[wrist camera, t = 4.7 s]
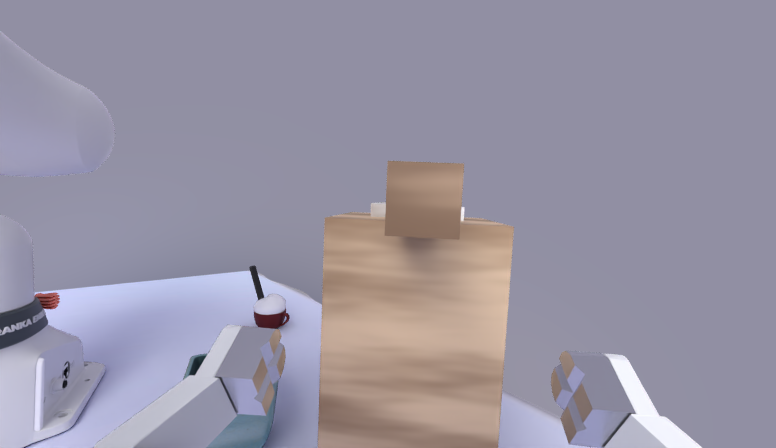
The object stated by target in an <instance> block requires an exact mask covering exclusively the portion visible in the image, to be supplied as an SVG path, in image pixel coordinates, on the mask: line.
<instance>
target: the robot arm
mask: <svg viewBox="0 0 776 448" xmlns="http://www.w3.org/2000/svg"><path fill="white" fill-rule="evenodd" d="M114 141H115V130H114V125H113V121H112V118H111V116H110V114H109V112H108V110H107V109H106V107H105V106H104V104H103V103H102V102H101V100H100V99H99V98H98V97H97V96H96V95H95V94H94V93H93V92H92V91H90V90H89V89H88V88H86V87H84V86H82V85H79V84H78V83H76V82H74V81H71V80H69V79H67V78H66V77H64V76H62V75H60V74H58V73H56V72H55V71H53V70H51V69H50V68H48V67H47V66H45V65H44V64H42V63H41V62H39V61H38V60H36V59H35V58H34V57H32V56H31V55H29V54H28V53H27V52H26V51H24V50H23V49H22V48H20V47H19V46H18V45H17V44H15V43H14V42H13V41H12V40H10V39H9V38H8V37H7V36H6V35H5V34H4V33H2V32H1V31H0V175H7V176H27V177H45V176H58V175H70V174H79V173H88V172H93V171H94V170H96V169H97V168H98V167H99V166H100V165H102V164H103V163H104V162H105V160H106V159H107V158H108V156H109V155H110V153H111V151H112V149H113V145H114ZM33 265H34V264H33V241H32V238H31V236H30V235H29V233H28V232H27V231H26V230H25V229H24V227H22V226H21V225H20V224H18V223H17V222H16V221H14V220H12V219H10V218H8V217H6V216H4V215H1V214H0V448H23V447H25V446H27V445H29V444H32V443H34V442H37V441H40V440H43V439H46V438H48V437H51V436H54V435H57V434H59V433H62V432H64V431H66V430H68V429H70V428H71V427H72V426H73V425H74V424H75V422H76V420H77V419H78V417H79V415H80V414H81V412H82V410H83V408H84V407H85V405H86V403H87V402H88V400H89V398H90V397H91V395H92V393H93V392H94V390H95V388H96V387H97V385H98V383H99V381H100V380H101V378H102V376H103V375H104V373H105V365H104V364H101V363H96V362H84V357H83V346H82V342H81V340H80V339H79V338H78V337H76V336H74V335H71V334H68V333H66V332H64V331H61V330H59V329H56V328H54V327H52V326H50V325H48V320H47V318H46V315H45V314H46V313H45V311H44V309H55V308H56V307H57V306H58V305H57V304H58V303H59V301H58V300H60V298H58V297H59V295H57V294H58V293H48V294H42V293H38V294H36V295H34V267H33ZM280 339H281V334H280V331H279V329H270V328H260V327H249V326H239V325H227V326H226V327H224V328H223V329H222V331H221V332H220V334H219V336H218V338H217V339H216V341H215V343H214V344H213V346H212V348H211V349H210V351H209V353H208V354H207V356H206V358H205V359H204V361H203V363H202V364H201V366H200V368H199V369H198V371H197V373H196V374H195V375H189V376H188V377H187V378H185V379H184V380H183V381H181V382H180V383H178V384H177V385H176V386H174V387H173V388H172V389H170V390H169V391H167V392H166V393H165V394H163V395H162V396H160V397H159V398H158V399H156V400H155V401H154V402H152V403H151V404H149V405H148V406H147V407H145V408H144V409H143V410H141V411H140V412H138V413H137V414H136V415H134V416H133V417H132V418H130V419H129V420H127V421H126V422H125V423H123V424H122V425H121V426H119V427H118V428H116V429H115V430H114V431H112V432H111V433H109V434H108V435H107V436H105V437H104V438H103V439H101V440H100V441H98V442H97V443H96V444H95V446H94V447H93V448H206V447H207V446H208V445H209V444H210V443H211V442H212V441H213V440H214V439H215V438H216V437H217V436H218V435H219V434H220V433H221V432H222V431H223V430H224V429H225V428H226V427H227V426H228V425H229V424H230V423H231V422H232V420H233V419H234V418H235V417H236V416H237V414H246V415H262V416H266V415H267V412H268V410H269V407H270V404H271V402H272V399H273V396H274V394H275V392H274V389H273V384H274V383H275V382H276V381H277V380H279V379H280V377H281V374H282V372H283V369H284V363H285V348H284V346H283V345H282V344H281V343H280V342H279V341H280ZM559 359H560V362H561V364H560V365H559V366H557V367H555V368H554V371H553V373H552V377H551V386H552V393H553V396H554V399H555V402H556V403H557V404H558V405H559V406H560V407H561V408H562V409H563V410H564V411H563V414H562V416H561V421H562V424H563V427H564V430H565V433H566V436H567V440H568V443H569V444H571V445H579V446H587V447H595V448H702V447H701V446H700V445H698V444H697V443H696V442H695V441H694V440H692V439H691V438H690V437H689V436H688V435H687V434H685V433H684V432H683V431H682V430H681V429H679V428H678V427H677V426H676V425H675V424H673V423H672V422H671V421H670V420H669V419H668V418H666V417H662V416H659V414H658V412H657V411H656V409H655V407H654V405H653V404H652V402H651V400H650V398H649V396H648V395H647V393H646V391H645V390H644V388H643V386H642V384H641V382H640V380H639V379H638V377H637V375H636V373H635V372H634V370H633V368H632V366H631V364H630V363H629V361H628V359H627V358H626V357H625V356H623V355H616V354H602V353H594V352H577V351H564V352H562V354H561V356H560V358H559Z"/></svg>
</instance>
